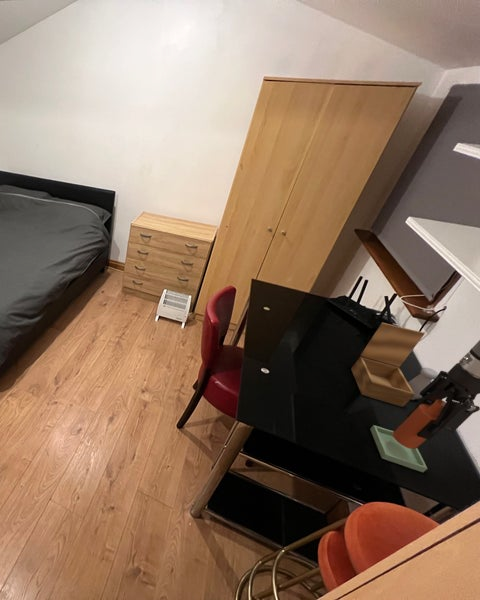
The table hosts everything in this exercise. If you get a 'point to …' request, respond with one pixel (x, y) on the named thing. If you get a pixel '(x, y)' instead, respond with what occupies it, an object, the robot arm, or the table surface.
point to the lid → (392, 344)
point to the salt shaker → (422, 381)
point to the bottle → (417, 424)
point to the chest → (382, 381)
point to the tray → (396, 450)
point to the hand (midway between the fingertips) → (418, 427)
